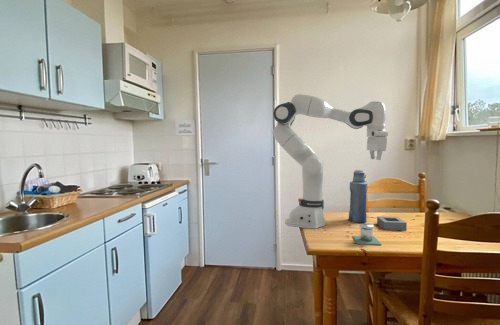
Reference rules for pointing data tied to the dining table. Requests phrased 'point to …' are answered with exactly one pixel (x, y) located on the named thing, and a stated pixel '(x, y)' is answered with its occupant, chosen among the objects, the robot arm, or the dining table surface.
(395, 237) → the dining table surface
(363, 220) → the bottle
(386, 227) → the housing
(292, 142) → the robot arm
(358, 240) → the mat
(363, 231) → the end cover
